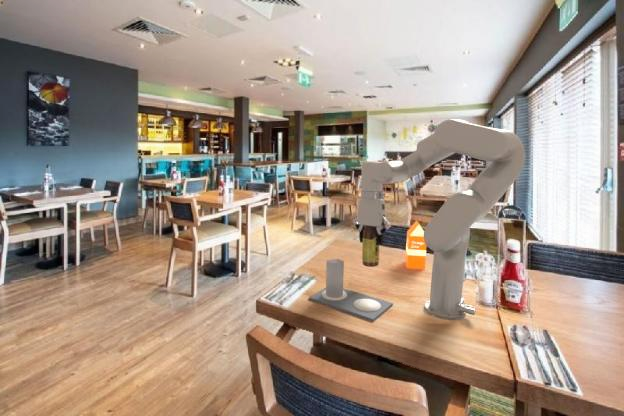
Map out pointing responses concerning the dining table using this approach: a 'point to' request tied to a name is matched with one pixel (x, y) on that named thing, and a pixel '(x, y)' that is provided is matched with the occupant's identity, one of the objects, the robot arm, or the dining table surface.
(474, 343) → the dining table surface
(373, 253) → the sauce bottle
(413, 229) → the orange juice
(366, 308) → the board
